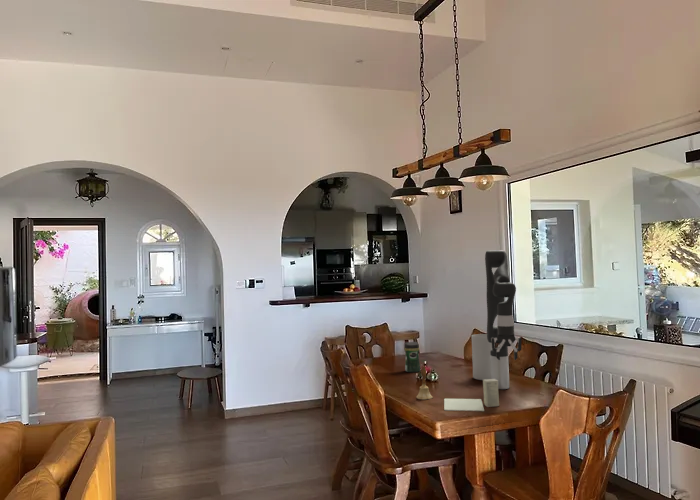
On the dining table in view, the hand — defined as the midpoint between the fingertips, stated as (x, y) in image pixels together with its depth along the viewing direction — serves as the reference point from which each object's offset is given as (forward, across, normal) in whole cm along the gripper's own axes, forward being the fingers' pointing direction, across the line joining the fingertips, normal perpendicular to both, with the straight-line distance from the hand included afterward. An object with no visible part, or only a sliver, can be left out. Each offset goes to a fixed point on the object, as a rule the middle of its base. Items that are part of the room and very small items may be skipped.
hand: (507, 359), depth 246 cm
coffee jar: (+22, +50, -79) cm, 96 cm away
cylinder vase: (+22, +7, -60) cm, 64 cm away
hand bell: (+22, +40, -13) cm, 47 cm away
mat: (+22, +21, 0) cm, 30 cm away
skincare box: (+22, +8, 0) cm, 23 cm away
